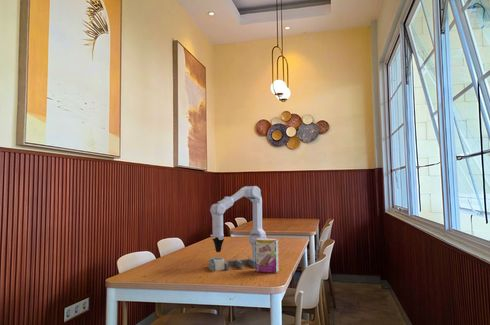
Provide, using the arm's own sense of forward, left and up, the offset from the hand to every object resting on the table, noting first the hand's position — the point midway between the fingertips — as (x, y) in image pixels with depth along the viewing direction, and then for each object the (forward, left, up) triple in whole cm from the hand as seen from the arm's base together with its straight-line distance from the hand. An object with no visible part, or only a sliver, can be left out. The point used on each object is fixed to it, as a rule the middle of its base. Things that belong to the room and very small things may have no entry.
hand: (218, 252), depth 190 cm
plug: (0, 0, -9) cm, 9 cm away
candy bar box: (-22, +15, -9) cm, 28 cm away
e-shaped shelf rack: (-8, -1, -9) cm, 12 cm away
